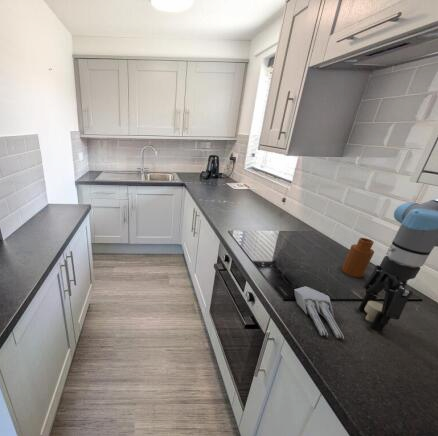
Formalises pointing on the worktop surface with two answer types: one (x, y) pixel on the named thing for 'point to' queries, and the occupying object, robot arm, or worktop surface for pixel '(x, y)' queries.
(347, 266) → the bottle
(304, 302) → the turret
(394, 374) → the worktop surface
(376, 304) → the bung
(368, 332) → the worktop surface
